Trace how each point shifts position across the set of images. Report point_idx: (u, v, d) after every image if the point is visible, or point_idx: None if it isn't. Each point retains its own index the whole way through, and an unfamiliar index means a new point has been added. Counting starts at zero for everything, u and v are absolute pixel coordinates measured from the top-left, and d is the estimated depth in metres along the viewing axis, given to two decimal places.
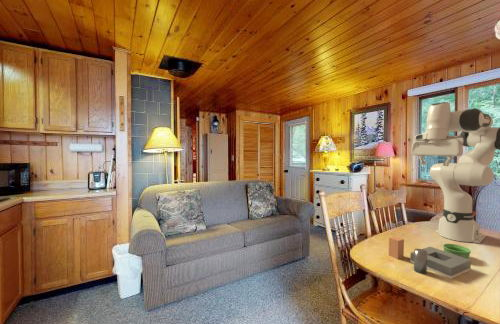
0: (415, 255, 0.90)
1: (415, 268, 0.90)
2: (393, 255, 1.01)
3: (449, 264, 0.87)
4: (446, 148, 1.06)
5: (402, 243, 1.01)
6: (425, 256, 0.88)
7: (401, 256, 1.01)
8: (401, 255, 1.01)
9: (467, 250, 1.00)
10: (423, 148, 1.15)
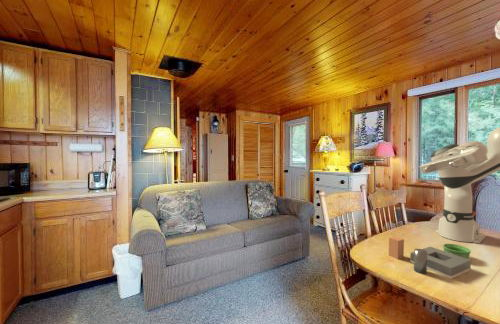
0: (415, 255, 0.90)
1: (415, 268, 0.90)
2: (393, 255, 1.01)
3: (449, 264, 0.87)
4: None
5: (402, 243, 1.01)
6: (425, 256, 0.88)
7: (401, 256, 1.01)
8: (401, 255, 1.01)
9: (467, 250, 1.00)
10: None
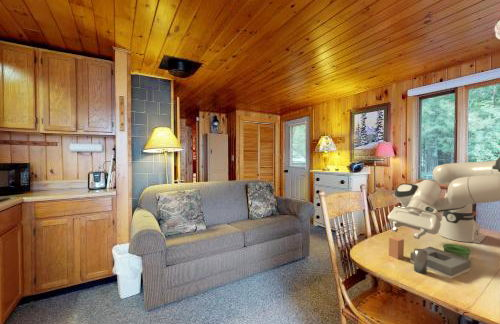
0: (415, 255, 0.90)
1: (415, 268, 0.90)
2: (393, 255, 1.01)
3: (449, 264, 0.87)
4: None
5: (402, 243, 1.01)
6: (425, 256, 0.88)
7: (401, 256, 1.01)
8: (401, 255, 1.01)
9: (467, 250, 1.00)
10: None
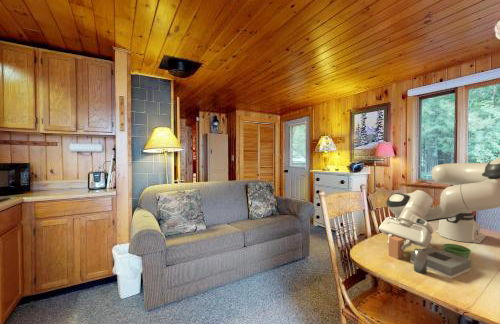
0: (415, 255, 0.90)
1: (415, 268, 0.90)
2: (393, 255, 1.01)
3: (449, 264, 0.87)
4: None
5: (402, 243, 1.01)
6: (425, 256, 0.88)
7: (401, 255, 1.01)
8: (401, 255, 1.01)
9: (467, 250, 1.00)
10: None
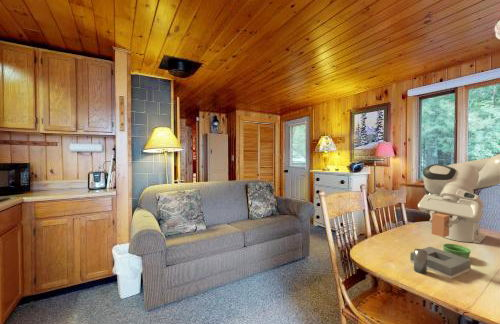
0: (415, 255, 0.90)
1: (415, 268, 0.90)
2: (438, 233, 0.92)
3: (449, 264, 0.87)
4: None
5: (448, 220, 0.92)
6: (425, 256, 0.88)
7: (447, 233, 0.92)
8: (447, 233, 0.92)
9: (467, 250, 1.00)
10: None
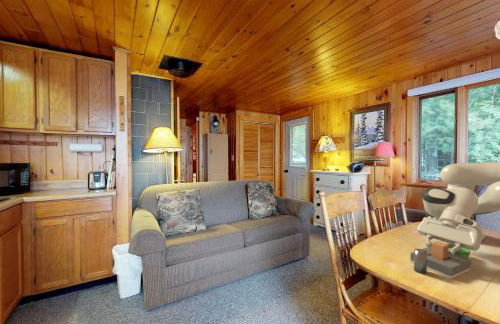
0: (415, 255, 0.90)
1: (415, 268, 0.90)
2: None
3: (449, 264, 0.87)
4: None
5: (447, 250, 0.92)
6: (425, 256, 0.88)
7: None
8: None
9: (467, 250, 1.00)
10: None
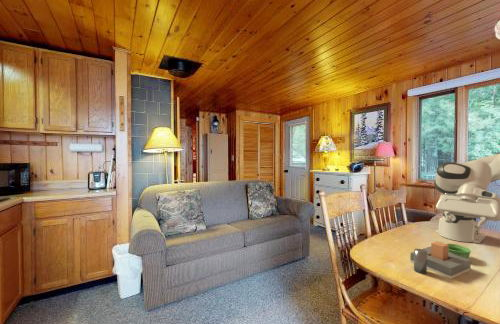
0: (415, 255, 0.90)
1: (415, 268, 0.90)
2: None
3: (449, 264, 0.87)
4: None
5: (447, 250, 0.92)
6: (425, 256, 0.88)
7: None
8: None
9: (467, 250, 1.00)
10: None
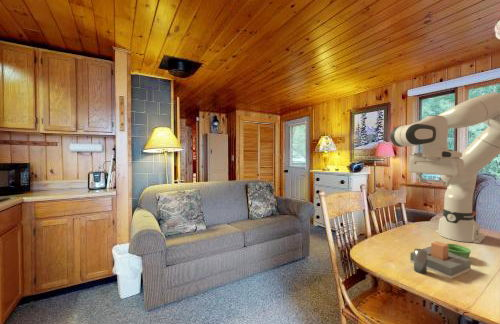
0: (415, 255, 0.90)
1: (415, 268, 0.90)
2: None
3: (449, 264, 0.87)
4: None
5: (447, 250, 0.92)
6: (425, 256, 0.88)
7: None
8: None
9: (467, 250, 1.00)
10: None
